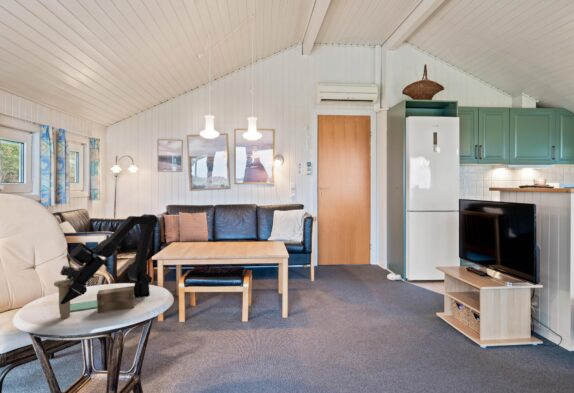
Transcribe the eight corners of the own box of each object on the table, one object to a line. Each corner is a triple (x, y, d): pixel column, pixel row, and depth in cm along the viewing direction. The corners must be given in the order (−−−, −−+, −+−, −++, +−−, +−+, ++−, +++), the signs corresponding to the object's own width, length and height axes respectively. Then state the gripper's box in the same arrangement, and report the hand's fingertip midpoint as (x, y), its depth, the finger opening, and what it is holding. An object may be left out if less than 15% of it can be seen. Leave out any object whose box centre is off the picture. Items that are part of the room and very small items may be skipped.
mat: (100, 300, 163) (100, 299, 163) (97, 308, 154) (97, 306, 154) (66, 305, 158) (65, 304, 158) (60, 313, 149) (60, 312, 149)
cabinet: (134, 303, 159) (133, 285, 158) (133, 308, 151) (132, 290, 151) (100, 308, 154) (98, 290, 153) (97, 314, 146) (96, 295, 146)
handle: (70, 319, 142) (67, 282, 141) (53, 320, 142) (51, 283, 141) (76, 314, 147) (74, 279, 146) (61, 315, 147) (58, 280, 146)
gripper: (71, 254, 153) (42, 284, 147) (75, 262, 138) (43, 295, 132) (92, 269, 158) (65, 299, 152) (98, 277, 143) (68, 311, 137)
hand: (60, 300), depth 143 cm, fingers open, 9 cm apart
